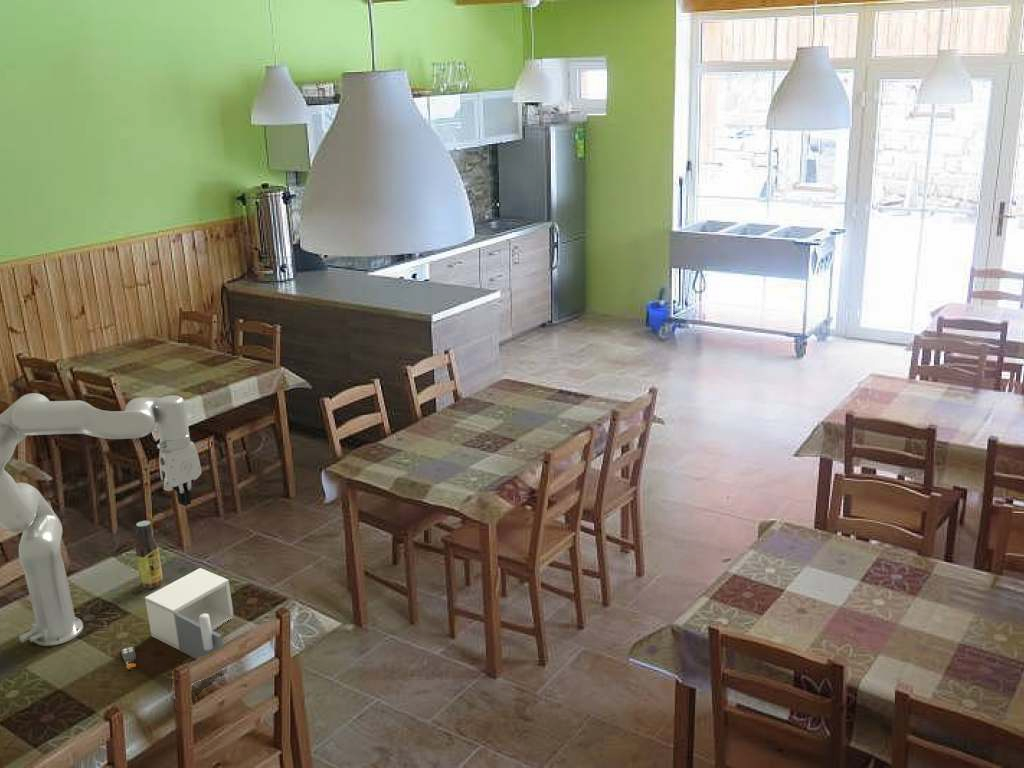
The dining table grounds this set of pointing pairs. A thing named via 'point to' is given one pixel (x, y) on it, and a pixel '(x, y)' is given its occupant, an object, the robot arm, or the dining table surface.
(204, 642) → the side door
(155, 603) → the case
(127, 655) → the key chain
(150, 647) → the dining table surface
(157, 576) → the sauce bottle
